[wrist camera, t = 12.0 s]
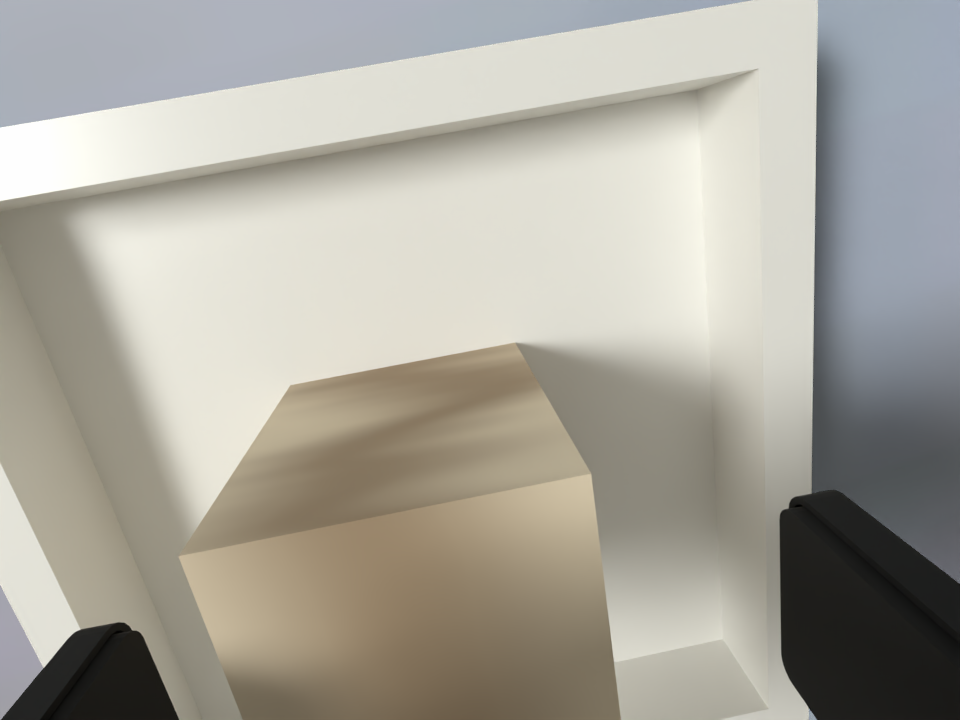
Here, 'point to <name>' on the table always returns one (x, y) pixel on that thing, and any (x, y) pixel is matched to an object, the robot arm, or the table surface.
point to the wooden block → (410, 553)
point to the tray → (431, 318)
